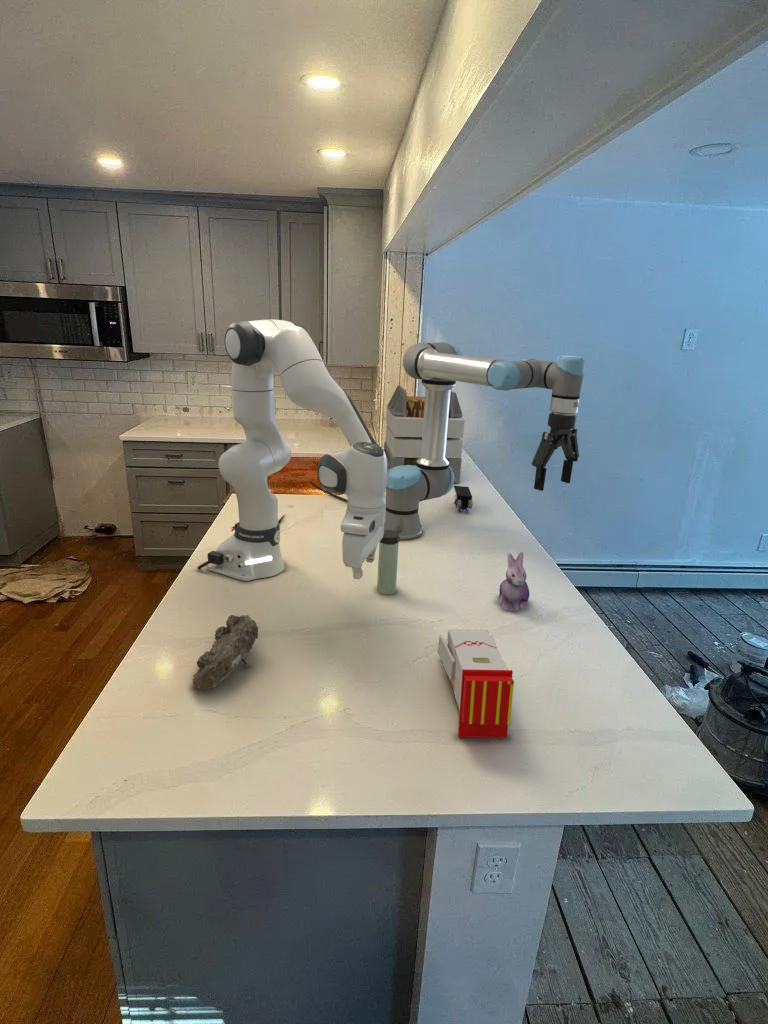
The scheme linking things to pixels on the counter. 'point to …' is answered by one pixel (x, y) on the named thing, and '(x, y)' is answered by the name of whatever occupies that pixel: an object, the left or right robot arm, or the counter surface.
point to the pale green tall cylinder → (387, 568)
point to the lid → (390, 537)
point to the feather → (281, 519)
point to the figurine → (514, 585)
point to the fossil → (226, 651)
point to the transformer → (419, 431)
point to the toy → (478, 682)
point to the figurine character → (463, 498)
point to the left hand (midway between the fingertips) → (364, 569)
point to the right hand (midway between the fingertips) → (552, 485)
